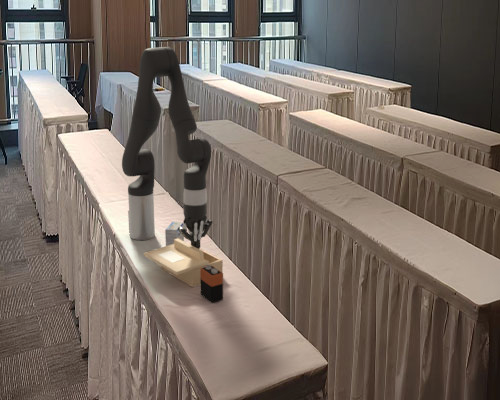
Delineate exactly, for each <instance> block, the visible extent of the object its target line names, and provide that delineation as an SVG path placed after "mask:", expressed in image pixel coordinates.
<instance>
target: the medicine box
mask: <svg viewBox="0 0 500 400" xmlns="http://www.w3.org/2000/svg"><path fill="white" fill-rule="evenodd" d="M183 224H184V223H183V222H177V221H172V222H171V223H170V224H169V225H168V227H166V228H165V229H164V230H165V232H164V233H165V246H169V245H172V244H174V239H177V238H178V239H180V240H182V241H184V242H185V237H184V236H183V235H182V234H181V233H180V232H179V230H178V227H181V226H182V225H183Z"/></svg>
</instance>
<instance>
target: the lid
mask: <svg viewBox="0 0 500 400" xmlns="http://www.w3.org/2000/svg"><path fill="white" fill-rule="evenodd" d="M200 249H201V248H200ZM200 249H198V248H196V247H194V246H192V245H190V244H188V242H186V241H185V240H184V241H182V240H180V239H178V238H177V239H174V244H172V245H169V246H166V245H165V246H162V247H159V248H156V249H152V250H149V251H146V252H143V256H144V257H146V258H147V259H149V260H150V261H152V262H154V263H156V264H157V265H158V266H160V267H161V266H162V267H164V268H166V269H167V270H169V271H171V272H173V273H174V274H176V275H178V274H181V273H184V272H187V271H190V270H193V269H196V268H199V267H202V266H205V265H208V264H209V261H207V260H205V259H204V252H203V251H201V250H200Z"/></svg>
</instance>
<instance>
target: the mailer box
mask: <svg viewBox="0 0 500 400" xmlns="http://www.w3.org/2000/svg"><path fill="white" fill-rule="evenodd" d="M187 243H188V242H187ZM188 244H190V245H191V242H189V243H188ZM199 249H200V250H201V251H203V252H204V259H205V260H207V261H209V264H208V265H211V266H213V267H215V268H216V269H218V270H219V271H221V272H222V273H223V262H224V259H222V258H219V257H217V256H215V255H214V254H211V253H210V252H208V251H205V250H204V249H203V248H201V247H200V248H199ZM206 266H207V265H205V266H202V267H199V268H196V269H193V270H190V271H187V272H184V273H181V274H178V275H176V274H174V273H173V272H171V271H169V270H167V269H166V268H164V267H162V266H161V265H160V269H161V270H163V271H165V272H166V273H168V274H170V275H171V276H172V277H174V278H177V279H178V280H179V281H181V282H183V283H185V284H187V285H188V286H190V287H192V288H195V287H197V286H201V276H200V269H201V268H204V267H206Z"/></svg>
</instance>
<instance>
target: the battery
mask: <svg viewBox="0 0 500 400" xmlns="http://www.w3.org/2000/svg"><path fill="white" fill-rule="evenodd" d="M200 276H201V285H200V295H201V296H202V298H204V299H206V300H207V301H208V302H210V303H211V304H212V303H216V302H217V303H218V302H220V301H222V300H224V273H223V271H222V272H221V271H219V270H218V269H216V268H215V267H213V266H211V265H207V266H206V267H204V268H201V269H200Z"/></svg>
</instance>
